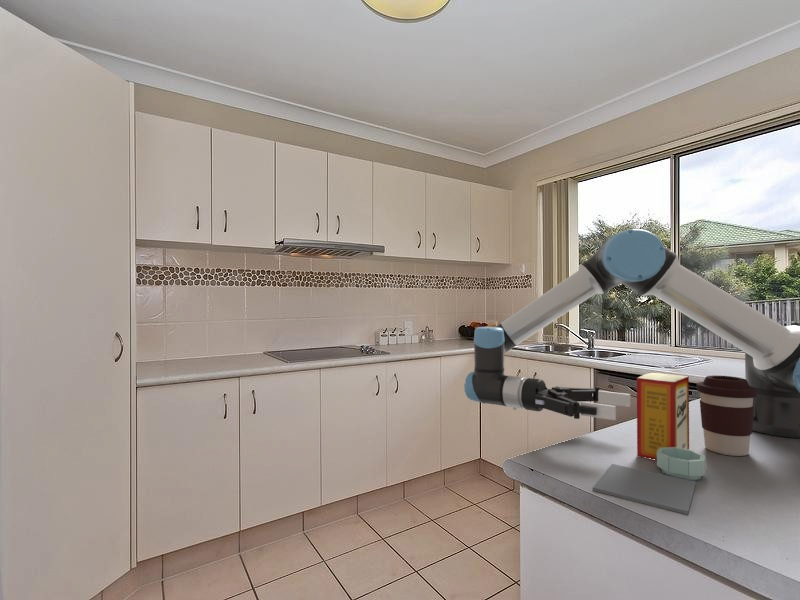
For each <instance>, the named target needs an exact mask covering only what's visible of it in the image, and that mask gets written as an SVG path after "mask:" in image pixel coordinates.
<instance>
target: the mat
mask: <svg viewBox="0 0 800 600" xmlns="http://www.w3.org/2000/svg"><path fill="white" fill-rule="evenodd" d="M696 484H697V481H696V480H686V479H681V478H677V477H672V476H668V475H666V474H661V473H657V472H652V471H649V470H643V469H639V468H638V469H637V468H633V467H628V466H625V465H624V466H623V465H620V464H615V463H611V464H610V465H609V466H608V468H607V469H606V470H605V471H604V473H603V474H602V475H601V476H600V478H599V479H598V481H597V482H596V483H595V484H594V485H593V486H592V491H594V492H598V493H601V494H605V495H610V496H612V497H617V498H620V499H625V500H627V501H633V502H637V503H639V504H644V505H648V506H652V507H656V508H661V509H664V510H668V511H672V512H675V513H679V514H684V515H689V512H690V510H691V509H690V508H691V504H692V501H693V496H694V493H695V490H694V489H696V486H695V485H696Z"/></svg>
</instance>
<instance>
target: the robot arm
mask: <svg viewBox="0 0 800 600" xmlns="http://www.w3.org/2000/svg"><path fill="white" fill-rule="evenodd" d="M578 266H579V267H578V270H577V271H575V272H574V273H573V274H571V275H569V276H568V277H567V278H565V279H564V280H562V281H560V282H559V283H558V284H556V285H555V286H554V287H552V288H550V289H549V290H547V291H546V292H545V293H543V294H541V295H540V296H539V297H537V298H536V299H534V300H533V301H532V302H530V303H528V304H527V305H526V306H524V307H523V308H521V309H520V310H518V311H517V312H514V314H512V315H510V317H508V318H506V319H505V320H503V321H502V322H501V323H500V324H498V325H496V326H478V327H476V328H475V329H474V331H473V332H474V333H473V335H474V336H473V343H474V344H473V345H474V346H473V351H474V353H473V354H474V369H473V371H471V372H469V373H468V374H467V375H466V377H465V383H464V384H463V385H464V393H465V396H466V397H467V399H468V400H470V401H474V402H478V403H481V404H486V405H487V404H488V405H496V406H497V405H498V406H501V407H502V406H504V407H509V408H512V410H514V411H516V410H517V409H521V410H522V409H525V410H527V411H532V412H541V411H543V410H544V409H545V410H548V411H551V412H554V413H558V414H561V415H564V416H567V417H571V418H572V417H573V419H576V420H580V418H581V417H580V416H585V417H591V418H596V419H597V418H598V419H603V420H610V421H616V420H617V406H620V407H627V408H630V407H631V394H630V393H623V392H615V391H614V392H613V391H606V390H600V387H599V386H595V387H594V388H593V387H565V386H557V385H556V386H553V387H551V388H547V385H546V383H545V381H544V380H543V379H541V378H532V377H531V378H530V377H524V376H517V375H506V374H505V354H506V353H507V352H509V351H510V350H513V349H514V348H515V347H516V346H518V345H519V344H521V343H522V342H524V341H525V340H527V339H529V338H530V337H532V336H533V335H535V334H536V333H538V332H539V331H541V330H542V329H545V327H547V326H549V325H550V324H552V323H553V322H554V321H556V320H558V319H559V318H561V317H562V316H564V315H565V314H567V313H568V312H570V311H571V310H573V309H575V308H577V306H579V305H580V304H582V303H584V302H585V301H587V300H588V299H590V298H591V297H593V296H594V295H596V294H599V295H603V294H605V293H606V292H607V291H610V290H611V289H613V288H615V287H618V286H620V285H624V286H626V287H627V288H629V289H630V290H632V291H634V292H635V293H637V294H638V295H640V296H641V297H646V296H654V297H656V298H658V299H659V300H661V301H663V302H664V303H665V304H667V305H669V306H670V307H672V308H674V309H675V310H676V311H678V312H680V313H681V314H683V315H684V316H686V317H688V318H690V319H691V320H692V321H694V322H695V323H698V324H699V325H701V326H703V327H704V328H705V329H707V330H709V331H711V332H712V333H713V334H715V335H716V336H719V337H720V338H722V339H723V340H724V341H726V342H727V343H730V344H731V345H733V346H734V347H735V348H737V349H739V350H741V351H742V352H744V362H745V364H744V366H745V368H744V369H745V371H744V372H745V376H744V379H746V380H747V382H748V384H749V386H752V387H755V388H756V389H757V397H754V398H753V406H754V413H753V425H752V432H756V433H757V432H758V433H762V434H766V435H772V436H778V437H783V438H784V437H786V438H797V439H798V438H799V439H800V326H799V325H795V324H794V325H793V324H792V325H786V326H785V325H784V326H783V325H782V324H781V323H779V322H777V321H775V320H774V319H772V318H770V317H769V316H767V315H765V314H764V313H762V312H760V311H759V310H757V309H756V308H754V307H752V306H751V305H748V304H747V303H745V302H744V301H742V300H740V299H738V298H737V297H736V296H733V294H730V293H729V292H727V291H725V290H723V289H722V288H720V287H719V286H717V285H715V284H713V283H712V282H711V281H708V279H705V278H703V277H702V276H700V275H698V274H697V273H695V272H694V271H692V270H690V269H688V268H687V267H685V266H683V265H682V264H680V260H679V255H678V254H677V253H676V252H674V251H672V250H670V249H669V248H667V247H666V246H664V243H663V241H662V240H661V239H660V238H659V237H658V236H657V235H656V234H654V233H652V232H650V231H648V230H644V229H639V228H631V229H627V230H626V229H625V230H622V231H620V232H618V233H615V234H614V235H612V236H611V237H610V238H609V239H608V240H607V241H605V242H604V243H603V244H602V245H601V246H600V247H599V248H598V249H597V251H596V252H595V253H593V254H592V255H591V256H590V257H589V258H588V259H586V260H585V261H584V262H582V263H580V264H579V265H578ZM596 402H598V403H596Z"/></svg>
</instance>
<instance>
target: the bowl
mask: <svg viewBox="0 0 800 600" xmlns="http://www.w3.org/2000/svg"><path fill="white" fill-rule="evenodd" d="M706 460H707V459H706V455H704V454H702V453H700V452H697V451H695V450H693V449H689V450H688V449H683V448H677V447H661V448H659V449H658V451H657V461H656V466H657V467H659V468H660V469H661V470H662V471H661V472H662V473H663V474H664V473H665V474H664V475H666V474H667V476H668V475H669V476H672V477H677V478H681V479H686V480H691V481H698V480H697V479H699V480H701V479H702V476H705V474H706V469H707V468H706V467H707V466H706V465H707V463H706ZM700 478H701V479H700Z"/></svg>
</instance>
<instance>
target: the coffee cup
mask: <svg viewBox="0 0 800 600" xmlns="http://www.w3.org/2000/svg"><path fill="white" fill-rule="evenodd" d="M696 390H697V392H698V393H700V399H699V408H700V417H701V418H700V419H701V427H702V429H703V440H704V441H703V442H704V447H705V448H706V449H707V450H708V451H711V452H713V453H716V454H720V455H723V456H724V455H725V456H731V457H745V456H747V455H748V454H749V453H750V442H751V435H752V434H753V430H752V425H753V413H754V406H753V398H754V397H757V389H756V388H755V387H752V386H749V384H748V382H747V380H746V378H743V377H737V376H732V375H731V376H730V375H713V374H712V375H707V376H705V378H704V380H703V381H699V382H697V383H696Z"/></svg>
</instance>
